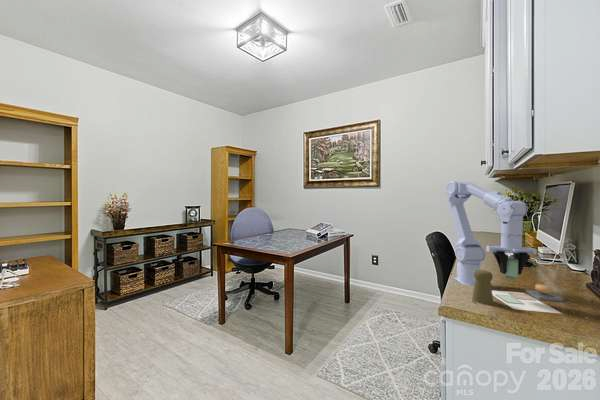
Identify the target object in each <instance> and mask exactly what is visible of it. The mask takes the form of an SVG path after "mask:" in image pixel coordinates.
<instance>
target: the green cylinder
mask: <svg viewBox="0 0 600 400" xmlns="http://www.w3.org/2000/svg"><path fill="white" fill-rule="evenodd" d="M518 264H519V259H517V258H514V257H511V256H510V257H509V256H508V259H507V264H506V274H503V273H502V275H503V276H504V278H505V279H509V280H515V281H516V280H517V278H518V277H519V275H518Z"/></svg>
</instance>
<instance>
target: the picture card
mask: <svg viewBox="0 0 600 400" xmlns="http://www.w3.org/2000/svg"><path fill="white" fill-rule="evenodd" d="M492 296H493V297H495V298H496V299H498V300H499V301H500V302H502V303H504V304H505V305H507V306H509V308H511V309H513V310H519V311H528V312H537V313H538V312H539V313H551V314H560V315H561V314H562V315H563V313H562V312H560V311H559V310H557V309H555V308H553V307H552V306H549V305H547V304H546V303H544V302H541V300H539V299H537V298H535V297H533V296H531V295H529V294H527V293H526V292H519V291H509V290H508V291H505V290H494V289H493V290H492Z"/></svg>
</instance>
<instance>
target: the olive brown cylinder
mask: <svg viewBox="0 0 600 400" xmlns="http://www.w3.org/2000/svg"><path fill="white" fill-rule="evenodd" d="M474 277H475V279H476V280H475V285H473V286H474V287H473V292H472V298H471V299H472V300H471V302H472V303H473V304H475V305H478V304H482V305H491V306H492V305H494V296H493V295H492V283H491V282H492V280H493V274H492V272H491V271H489V270H485V269H480V270H476V271H475V272H474Z"/></svg>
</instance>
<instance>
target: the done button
mask: <svg viewBox="0 0 600 400" xmlns="http://www.w3.org/2000/svg"><path fill="white" fill-rule="evenodd" d="M534 285H535V286H534V287H535V290H534V291H539V292H543V293H552V294H553V287H552V286H551V285H547V284H541V283H536V284H534Z"/></svg>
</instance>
